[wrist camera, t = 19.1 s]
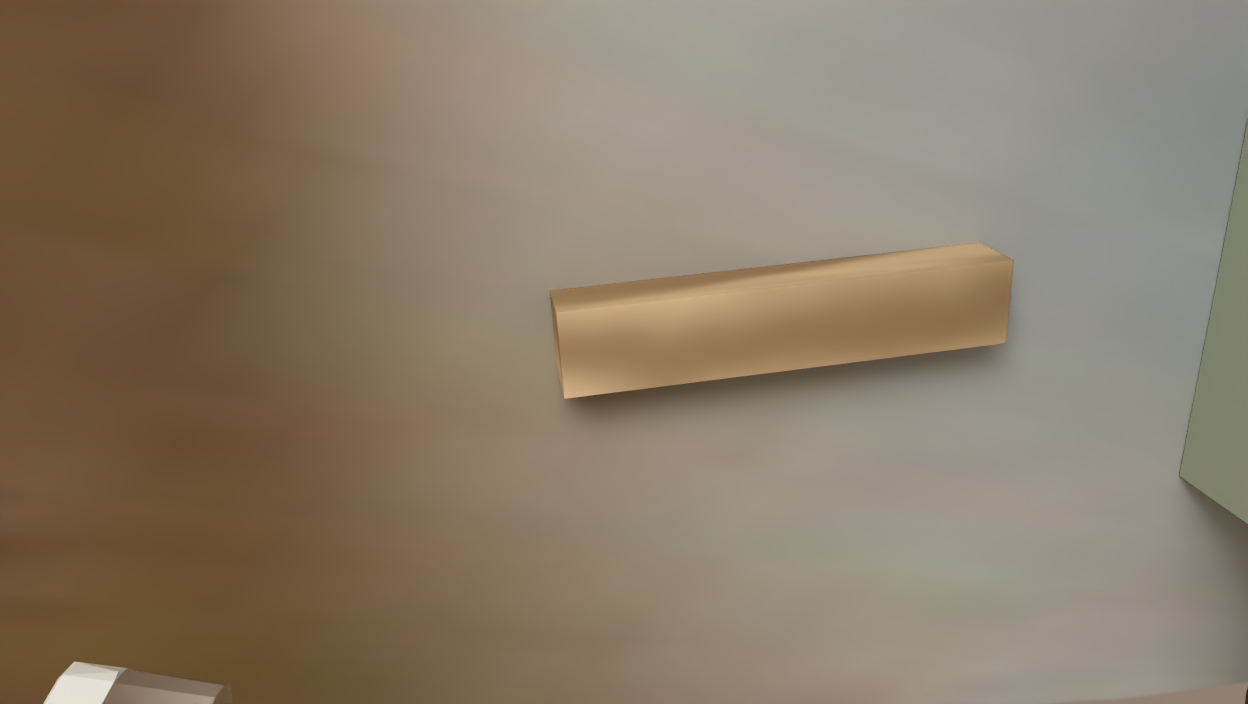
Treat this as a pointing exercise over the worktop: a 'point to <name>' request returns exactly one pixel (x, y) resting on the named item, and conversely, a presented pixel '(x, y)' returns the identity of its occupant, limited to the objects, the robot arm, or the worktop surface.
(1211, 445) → the toolbox
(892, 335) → the tan bar
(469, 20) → the worktop surface
